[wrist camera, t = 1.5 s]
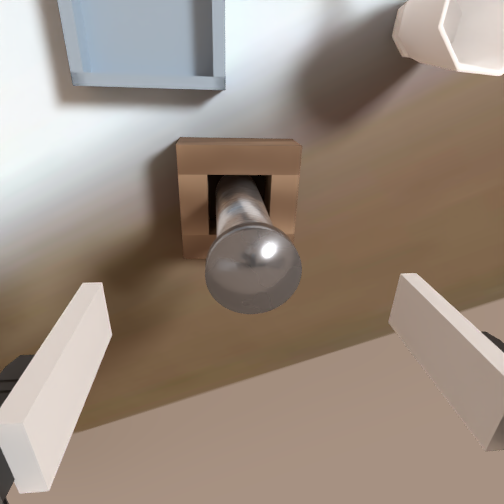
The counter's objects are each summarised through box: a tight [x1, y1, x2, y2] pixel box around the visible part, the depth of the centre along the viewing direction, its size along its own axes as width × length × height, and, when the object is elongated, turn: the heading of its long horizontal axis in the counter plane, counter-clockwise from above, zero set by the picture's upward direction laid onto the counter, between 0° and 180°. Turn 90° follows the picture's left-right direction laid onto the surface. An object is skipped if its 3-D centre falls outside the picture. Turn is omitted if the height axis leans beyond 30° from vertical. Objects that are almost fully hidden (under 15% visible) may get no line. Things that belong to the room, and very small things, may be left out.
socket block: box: [176, 137, 302, 259], centre depth 28 cm, size 9×9×4 cm
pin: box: [205, 175, 302, 314], centre depth 23 cm, size 5×5×14 cm
